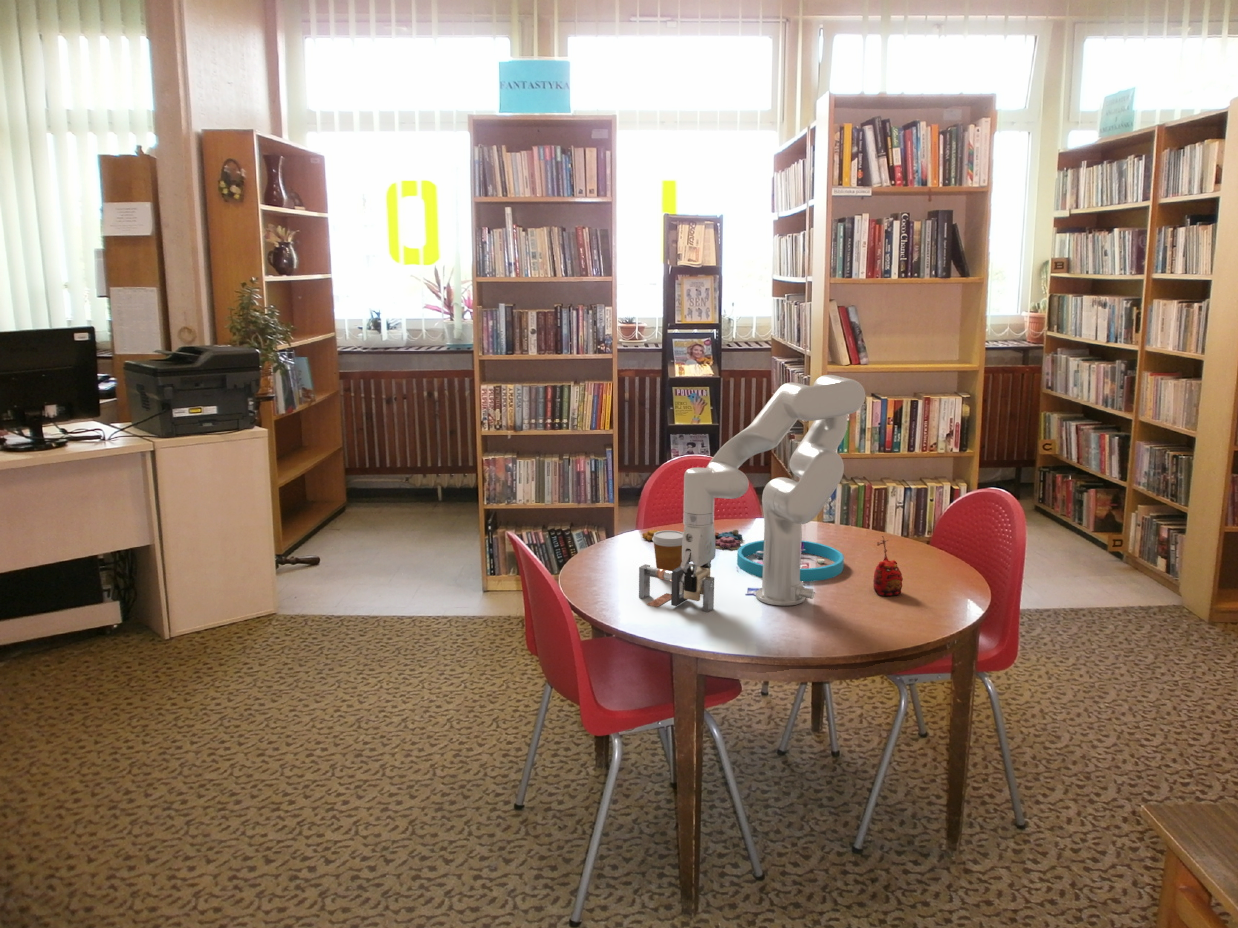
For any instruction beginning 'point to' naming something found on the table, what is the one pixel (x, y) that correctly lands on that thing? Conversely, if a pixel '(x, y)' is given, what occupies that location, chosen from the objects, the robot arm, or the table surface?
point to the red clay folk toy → (887, 576)
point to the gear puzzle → (721, 539)
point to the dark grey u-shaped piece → (677, 587)
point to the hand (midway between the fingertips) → (697, 586)
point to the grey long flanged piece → (648, 572)
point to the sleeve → (698, 584)
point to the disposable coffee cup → (668, 549)
